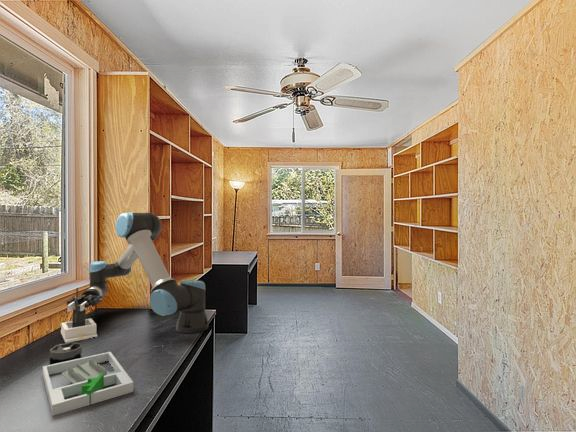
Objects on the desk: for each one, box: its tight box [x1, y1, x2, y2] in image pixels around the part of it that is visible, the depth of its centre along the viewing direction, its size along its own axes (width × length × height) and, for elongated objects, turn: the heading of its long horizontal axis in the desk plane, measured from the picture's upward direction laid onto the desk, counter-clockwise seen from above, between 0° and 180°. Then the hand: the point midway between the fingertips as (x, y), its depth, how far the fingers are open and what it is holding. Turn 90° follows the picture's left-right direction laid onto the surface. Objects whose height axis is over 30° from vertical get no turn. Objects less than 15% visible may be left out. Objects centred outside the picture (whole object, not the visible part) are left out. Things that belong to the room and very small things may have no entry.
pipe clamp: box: [81, 373, 105, 405], centre depth 105 cm, size 10×4×4 cm, turn 9°
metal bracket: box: [61, 359, 117, 396], centre depth 115 cm, size 14×6×15 cm
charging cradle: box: [60, 317, 98, 344], centre depth 157 cm, size 16×12×5 cm
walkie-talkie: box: [72, 287, 87, 328], centre depth 157 cm, size 5×3×20 cm
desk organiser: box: [42, 351, 134, 417], centre depth 113 cm, size 30×21×3 cm
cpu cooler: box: [49, 342, 83, 365], centre depth 129 cm, size 10×6×10 cm
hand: (74, 308), depth 151 cm, fingers open, 4 cm apart
